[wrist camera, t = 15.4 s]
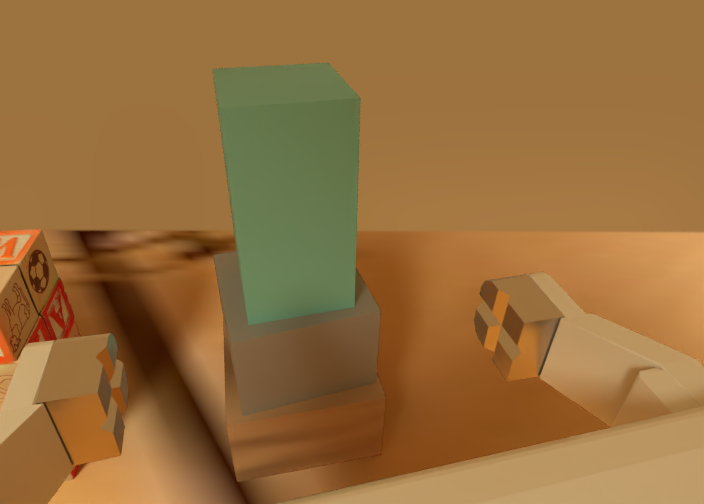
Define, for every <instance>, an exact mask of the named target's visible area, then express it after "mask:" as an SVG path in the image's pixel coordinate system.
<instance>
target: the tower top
mask: <svg viewBox="0 0 704 504" xmlns="http://www.w3.org/2000/svg"><path fill="white" fill-rule="evenodd" d="M213 257H214V263H215V269H216V275H217V281H218V287H219V293H220V299H221V305H222V311H223V317H224V323H225V328H226V333H227V339H228V344H229V349H230V354H231V359H232V364H233V369H234V374H235V379H236V384H237V389H238V395H239V400H240V405H241V410H242V415H243V416H247V415H251V414H255V413H259V412H262V411H266V410H270V409H274V408H278V407H282V406H286V405H290V404H294V403H298V402H302V401H306V400H309V399H313V398H317V397H321V396H325V395H329V394H333V393H337V392H341V391H345V390H349V389H353V388H356V387H360V386H364V385H368V384H372V383H376V376H377V362H378V347H379V333H380V318H381V310H380V308H379V307H378V305H377V303H376V301H375V300H374V298H373V296H372V294H371V293H370V291H369V289H368V288H367V286H366V284H365V282H364V281H363V279H362V277H361V275H360V274H359V272H358V270H357V269H356V273H355V307H352V308H346V309H341V310H335V311H329V312H323V313H317V314H311V315H305V316H299V317H294V318H288V319H282V320H276V321H270V322H264V323H258V324H252V325H248V320H247V314H246V308H245V301H244V295H243V289H242V283H241V277H240V271H239V265H238V258H237V251H233V252H227V253H221V254H215V255H213Z"/></svg>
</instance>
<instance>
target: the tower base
mask: <svg viewBox="0 0 704 504" xmlns="http://www.w3.org/2000/svg"><path fill="white" fill-rule="evenodd" d="M223 326H224V362H225V398H226V427H227V432H228V437H229V443H230V448H231V453H232V458H233V463H234V469H235V474H236V479H237V482H240V481H245V480H251V479H256V478H261V477H266V476H271V475H277V474H282V473H287V472H292V471H298V470H303V469H308V468H313V467H318V466H324V465H329V464H334V463H339V462H344V461H350V460H355V459H360V458H365V457H370V456H376V455H381V450H382V439H383V428H384V417H385V405H386V396H385V394H384V391H383V388H382V385H381V382H380V379H379V376H378V373H377V376H376V383H372V384H368V385H364V386H360V387H356V388H353V389H349V390H345V391H341V392H337V393H333V394H329V395H325V396H321V397H317V398H313V399H309V400H306V401H302V402H298V403H294V404H290V405H286V406H282V407H278V408H274V409H270V410H266V411H262V412H259V413H255V414H251V415H247V416H243V415H242V410H241V405H240V400H239V395H238V389H237V384H236V379H235V374H234V369H233V364H232V359H231V354H230V349H229V344H228V339H227V333H226V328H225V323H224V317H223Z"/></svg>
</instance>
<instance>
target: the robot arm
mask: <svg viewBox="0 0 704 504" xmlns="http://www.w3.org/2000/svg"><path fill="white" fill-rule="evenodd" d="M480 295H481V297H482V298H483V300H484V301H483V302H482V303H481V304H480V305H479V306H478V307H477V308H476V313H475V318H474V321H475V330H476V333H477V336H478V338H479V340H480V342H481V343H482V345H483V347H485V348H487V349H488V350H490V351H492V352H494V356H493V362H494V364H495V365H496V367H497V368H498V370H499V371H500V373H501V374H502V376H503V377H504V379H505V380H506V382H508V381H514V380H520V379H526V378H532V377H539V376H540V379H541V380H543V381H544V382H546V383H547V384H549V385H550V386H552V387H553V388H554V389H556V390H557V391H559V392H560V393H562V394H563V395H565V396H566V397H568V398H569V399H570V400H572V401H573V402H575V403H576V404H578V405H579V406H581V407H582V408H584V409H585V410H586V411H588V412H589V413H591V414H592V415H594V416H595V417H597V418H598V419H600V420H601V421H602V422H604V423H605V424H607V425H608V426H610V427H611V428H606V429H602V430H597V431H593V432H588V433H584V434H580V435H575V436H571V437H566V438H562V439H557V440H553V441H549V442H544V443H540V444H535V445H531V446H527V447H522V448H518V449H513V450H509V451H505V452H500V453H496V454H491V455H487V456H483V457H478V458H474V459H469V460H465V461H461V462H456V463H452V464H447V465H443V466H439V467H434V468H430V469H425V470H421V471H416V472H412V473H408V474H403V475H399V476H394V477H390V478H385V479H381V480H377V481H372V482H368V483H363V484H359V485H354V486H350V487H346V488H341V489H337V490H332V491H328V492H323V493H319V494H314V495H310V496H306V497H301V498H297V499H292V500H288V501H283V502H279V503H275V504H704V366H703V365H702V364H701V363H700V362H699V361H698V360H697V359H695V358H693V357H691V356H689V355H686V354H684V353H682V352H679V351H677V350H675V349H673V348H670V347H668V346H666V345H664V344H661V343H659V342H657V341H654V340H652V339H650V338H648V337H645V336H643V335H641V334H639V333H636V332H634V331H632V330H630V329H627V328H625V327H623V326H620V325H618V324H616V323H614V322H611V321H609V320H607V319H605V318H602V317H600V316H598V315H596V314H593V313H589V314H586V313H585V312H584V311H583V310H582V309H581V308H580V307H579V305H578V304H577V303H576V302H575V301H574V300H573V299H572V298H571V297H570V296H569V295H568V294H567V293H566V292H565V291H564V290H563V289H562V288H561V287H560V285H559V284H558V283H557V282H556V281H555V280H554V279H553V278H552V277H551V276H550V275H549V274H547V273H545V272H537V273H531V274H525V275H520V276H514V277H507V278H500V279H493V280H486V281H485V282H484V283H483V285H482V287H481V291H480ZM117 352H118V345H117V342H116V339H115V336H114V335H113V334H111V333H107V334H99V335H90V336H82V337H73V338H65V339H57V340H52V341H44V342H35V343H28V344H27V345H26V346H25V347H24V349H23V350H22V353H21V356H20V358H19V361H18V364H17V366H16V369H15V372H14V374H13V377H12V380H11V382H10V385H9V388H8V390H7V393H6V396H5V399H4V401H3V404H2V407H1V409H0V504H48V502H49V501H50V500H51V498H52V497H53V496H54V494H55V493H56V492H57V490H58V489H59V488H60V486H61V485H62V483H63V482H64V481H65V479H66V478H67V477H68V475H69V474H70V473H71V471H72V470H73V469H74V468H73V466H75V465H80V464H84V463H89V462H94V461H98V460H103V459H107V458H112V457H117V456H121V451H122V443H123V435H124V428H125V426H124V423H123V420H122V417H121V414H122V413H123V412H124V411H125V410H126V409H127V402H128V381H127V375H126V370H125V367H124V364H123V362H121V361H120V360H118V359H117Z"/></svg>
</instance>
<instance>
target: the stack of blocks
mask: <svg viewBox="0 0 704 504" xmlns="http://www.w3.org/2000/svg"><path fill="white" fill-rule="evenodd" d="M73 337H81V336H80V333H79V331H78V328H77V325H76V323H75V321H74V315H73V312H72V309H71V306H70V303H69V301H68V298H67V295H66V292H65V291H64V286H63V284H62V281H61V279H60V278H59V277H58V274H57V272H56V269H55V266H54V263H53V260H52V258H51V255H50V252H49V249H48V246H47V243H46V240H45V238H44V235H43V232H42V230H41V229H33V230H16V231H0V409H1V407H2V404H3V401H4V399H5V396H6V393H7V390H8V388H9V385H10V382H11V380H12V377H13V374H14V372H15V369H16V366H17V364H18V361H19V358H20V356H21V353H22V350H23V349H24V347H25V346H26V345H27V344H28V343H35V342H44V341H52V340H57V339H65V338H73ZM73 468H74V469H73V470H72V471H71V473H70V474H69V475H68V477H67V478H66V479H65V481H68V480H72V479H74V477H75V475H76V471H77V468H78V465H75V466H73Z"/></svg>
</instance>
